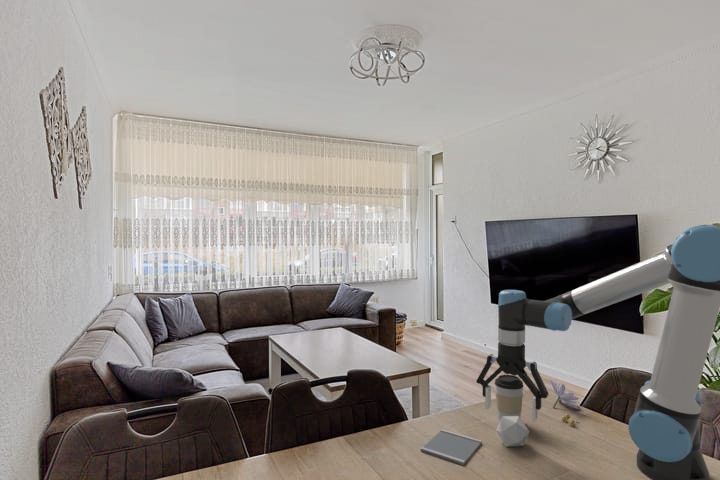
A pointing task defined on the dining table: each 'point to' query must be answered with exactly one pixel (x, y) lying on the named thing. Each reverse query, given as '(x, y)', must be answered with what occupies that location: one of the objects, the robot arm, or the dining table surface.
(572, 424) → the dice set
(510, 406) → the coffee cup
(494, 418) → the dining table surface
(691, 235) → the robot arm
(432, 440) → the coaster
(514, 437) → the die
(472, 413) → the dining table surface
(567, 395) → the water lily
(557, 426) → the dining table surface
